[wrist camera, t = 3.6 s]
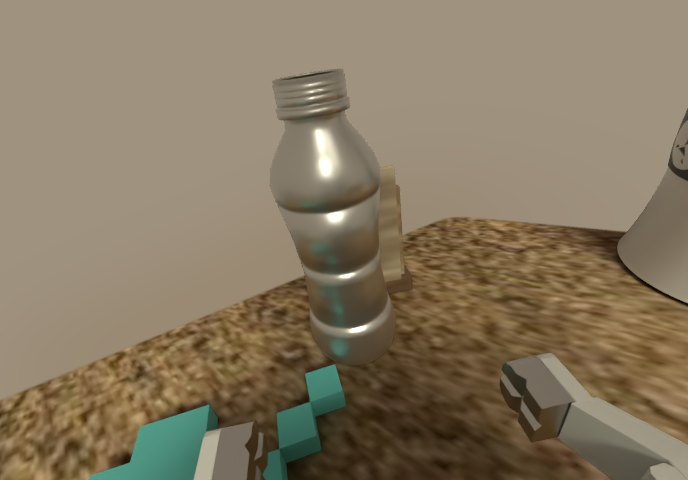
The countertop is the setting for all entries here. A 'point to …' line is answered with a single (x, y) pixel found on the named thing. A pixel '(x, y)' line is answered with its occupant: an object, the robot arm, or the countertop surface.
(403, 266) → the offcut rack
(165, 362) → the countertop surface
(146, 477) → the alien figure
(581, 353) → the countertop surface
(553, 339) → the countertop surface
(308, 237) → the plastic bottle
